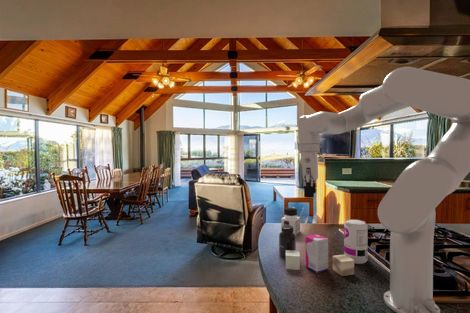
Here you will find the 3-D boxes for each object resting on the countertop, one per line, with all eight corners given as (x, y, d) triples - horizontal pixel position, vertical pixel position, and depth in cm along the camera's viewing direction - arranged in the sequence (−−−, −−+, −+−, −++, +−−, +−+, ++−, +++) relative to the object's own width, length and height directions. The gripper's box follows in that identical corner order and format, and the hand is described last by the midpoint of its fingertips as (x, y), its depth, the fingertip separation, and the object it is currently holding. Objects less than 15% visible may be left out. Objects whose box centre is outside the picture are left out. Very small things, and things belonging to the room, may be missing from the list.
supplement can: (344, 262, 94) (344, 223, 94) (343, 254, 102) (343, 218, 102) (368, 266, 91) (368, 225, 91) (365, 257, 99) (365, 219, 99)
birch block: (354, 274, 86) (354, 260, 86) (341, 276, 85) (341, 261, 84) (344, 267, 91) (344, 254, 90) (332, 269, 89) (332, 255, 89)
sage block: (299, 270, 89) (299, 256, 89) (285, 268, 90) (285, 255, 90) (299, 263, 94) (299, 250, 94) (285, 262, 95) (285, 250, 95)
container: (295, 235, 125) (295, 210, 125) (281, 233, 129) (280, 208, 129) (300, 231, 132) (300, 207, 131) (286, 229, 136) (286, 205, 136)
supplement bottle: (276, 257, 100) (276, 227, 100) (281, 250, 106) (281, 223, 106) (293, 260, 97) (293, 230, 97) (297, 253, 103) (297, 225, 103)
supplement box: (328, 269, 89) (328, 238, 89) (317, 273, 86) (316, 241, 86) (316, 263, 94) (316, 233, 94) (305, 266, 92) (304, 236, 91)
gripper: (318, 148, 82) (319, 199, 83) (320, 149, 99) (322, 192, 99) (295, 149, 85) (296, 198, 85) (301, 149, 101) (302, 191, 101)
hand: (310, 195), depth 92 cm, fingers open, 9 cm apart
